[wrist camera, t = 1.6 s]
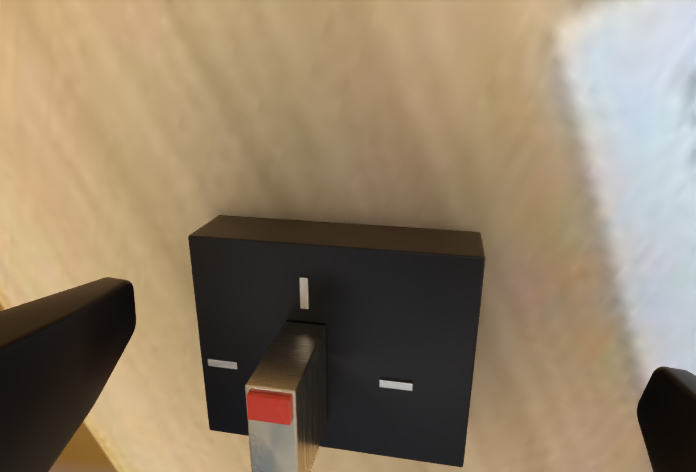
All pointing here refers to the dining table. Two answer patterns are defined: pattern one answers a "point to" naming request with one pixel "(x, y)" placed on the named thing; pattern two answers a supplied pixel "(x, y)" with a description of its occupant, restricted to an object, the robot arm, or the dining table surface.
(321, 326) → the switch
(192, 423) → the dining table surface
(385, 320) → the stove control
